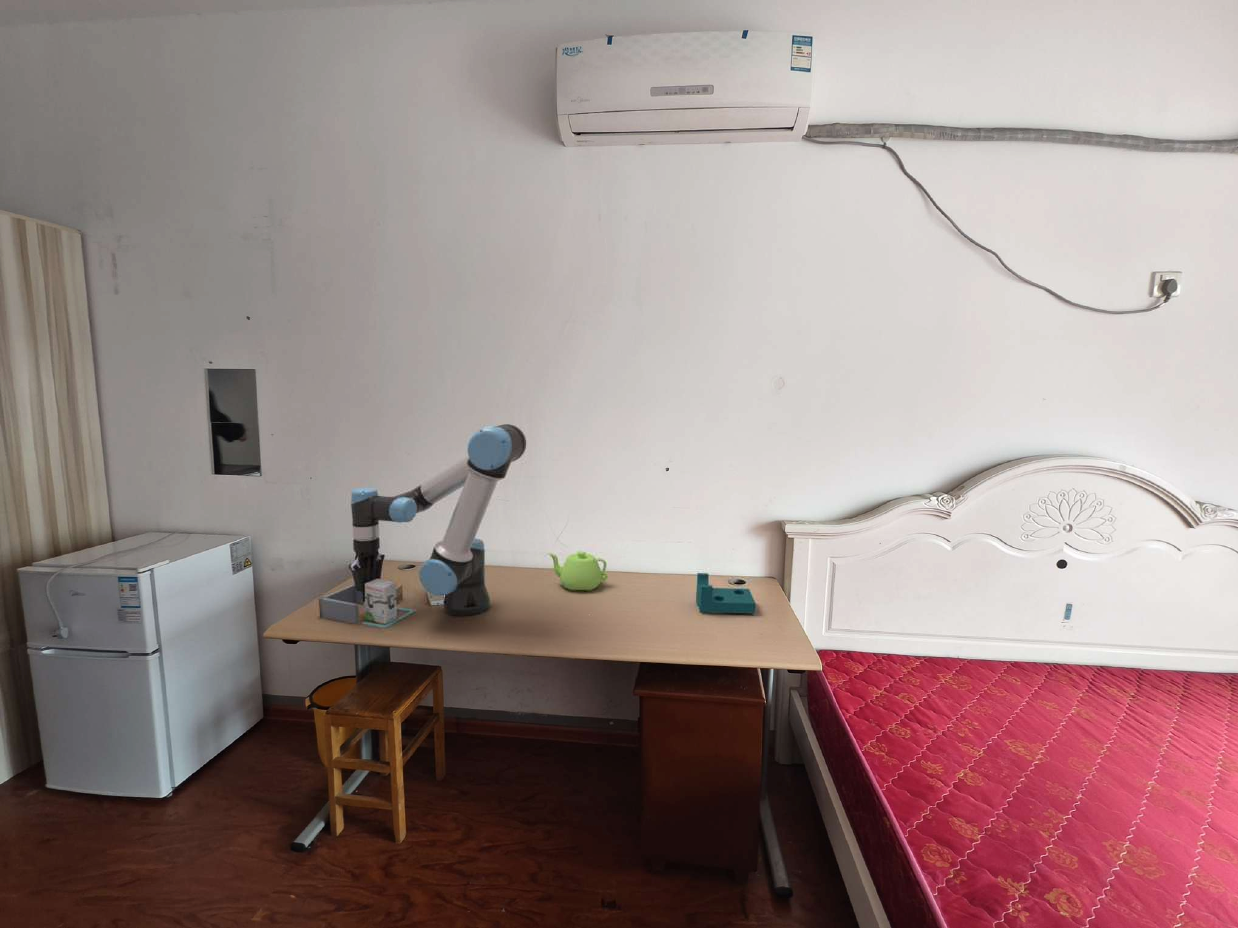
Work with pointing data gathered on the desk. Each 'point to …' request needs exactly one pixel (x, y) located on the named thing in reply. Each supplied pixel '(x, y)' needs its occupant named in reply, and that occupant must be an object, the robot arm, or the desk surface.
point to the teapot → (580, 571)
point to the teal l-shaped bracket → (722, 598)
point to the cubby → (341, 605)
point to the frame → (392, 621)
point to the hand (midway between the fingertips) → (369, 610)
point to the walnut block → (399, 593)
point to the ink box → (380, 601)
